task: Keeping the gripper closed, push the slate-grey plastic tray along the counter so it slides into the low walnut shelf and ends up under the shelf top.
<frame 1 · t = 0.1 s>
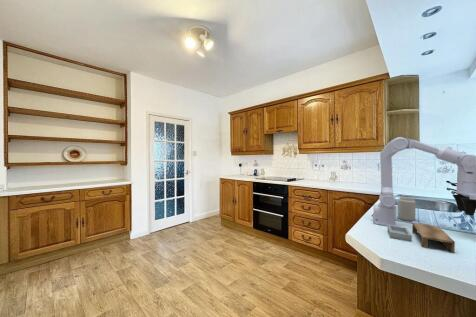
hand: (465, 212, 89), 10 cm above the table, tool pointing down, fingers open, 7 cm apart
shelf: (430, 241, 83), on the table
tray: (398, 235, 89), on the table
can: (406, 219, 111), on the table
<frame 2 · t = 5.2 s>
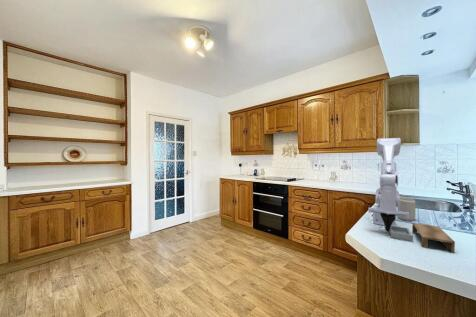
hand: (387, 230, 91), 1 cm above the table, tool pointing down, fingers closed
tray: (399, 235, 88), on the table, touching gripper
everything else where it was.
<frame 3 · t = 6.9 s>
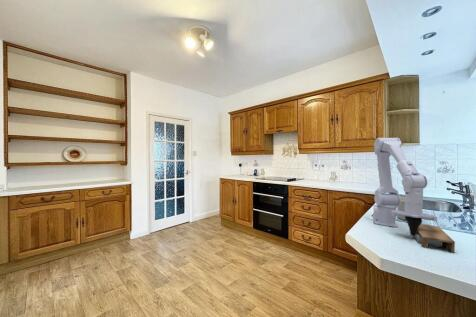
hand: (412, 234, 86), 1 cm above the table, tool pointing down, fingers closed
tray: (426, 240, 84), on the table, touching gripper
everything else where it was.
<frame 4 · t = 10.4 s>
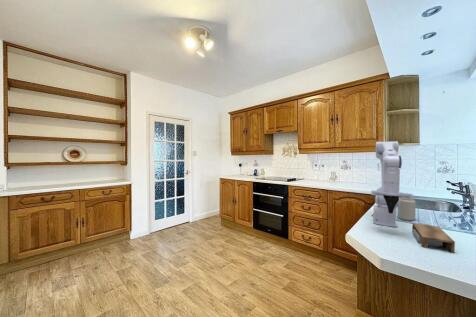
hand: (390, 212, 91), 9 cm above the table, tool pointing down, fingers closed
tray: (426, 240, 84), on the table
everything else where it was.
at the end: tray 2.0 cm from the target spot, on the table; tray tilted 0° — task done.
